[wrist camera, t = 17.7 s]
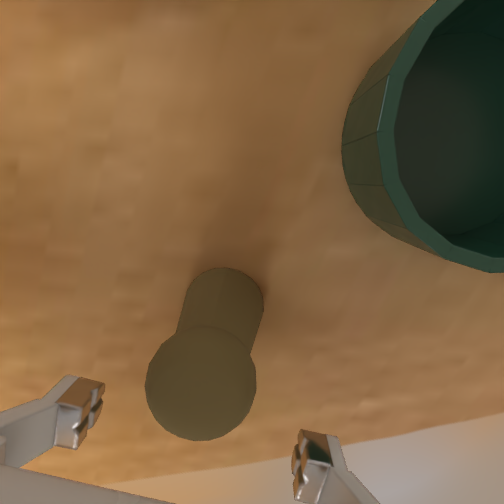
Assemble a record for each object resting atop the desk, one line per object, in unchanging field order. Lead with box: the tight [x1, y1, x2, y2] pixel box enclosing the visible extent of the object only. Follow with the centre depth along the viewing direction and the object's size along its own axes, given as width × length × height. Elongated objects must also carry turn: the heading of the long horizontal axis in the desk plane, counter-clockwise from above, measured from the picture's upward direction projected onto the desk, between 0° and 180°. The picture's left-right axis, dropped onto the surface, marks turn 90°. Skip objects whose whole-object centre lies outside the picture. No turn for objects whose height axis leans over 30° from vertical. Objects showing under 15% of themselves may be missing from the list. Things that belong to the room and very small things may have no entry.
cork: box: [145, 268, 264, 441], centre depth 19 cm, size 6×6×11 cm
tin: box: [341, 0, 504, 273], centre depth 18 cm, size 14×14×7 cm
